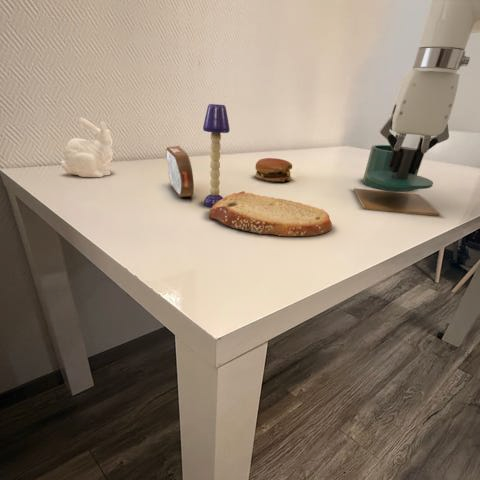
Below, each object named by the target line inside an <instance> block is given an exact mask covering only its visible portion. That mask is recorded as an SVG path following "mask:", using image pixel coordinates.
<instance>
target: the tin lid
mask: <svg viewBox="0 0 480 480" xmlns="http://www.w3.org/2000/svg"><path fill="white" fill-rule="evenodd" d="M406 147H407V146H401V152H402V154H401V157H400V160H399V163H398V167H397V170H396V172H391V171H371V172H368V173H367V178H368V179H370V180H372V181H374V182H376V183H378V184H381V185H384V186H388V187H392V188H398V189H408V190H409V191H413V190H414V191H415V190H425V189H430V188H432V187H433V186H434V182H433V181H432V180H431V179H429V178H427V177H424V176H422V175H418V174H417V175H413V174H409V173H410V170H411V167H412V164H413V161H414V158H415V155H416V152H417V148H413V147H408V148H406Z"/></svg>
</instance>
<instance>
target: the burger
mask: <svg viewBox="0 0 480 480" xmlns="http://www.w3.org/2000/svg"><path fill="white" fill-rule="evenodd" d="M292 169H293V164H292V162H290V161H288V160H285V159H282V158H275V157H274V158H272V157H267V158H261V159H259V160H257V162H256V163H255V170H256V173H255V177H256V179H258V180H262V181H266V182H283V183H284V182H285V181H287V182H290V181H291V180H292V178H291V170H292Z"/></svg>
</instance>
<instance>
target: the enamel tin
mask: <svg viewBox="0 0 480 480" xmlns="http://www.w3.org/2000/svg"><path fill="white" fill-rule="evenodd" d="M405 147H406V148H409V147H407V146H405ZM391 153H392V148H391V145H390V144H374V145H371V148H370V152H369V155H368V160H367V163H366V167H365V172H364V174H363V179H362V183H363V184H364V185H366V186H368V187H371V188H374V189H377V190H382V191H389V192H408V191H410V190H408V189H398V188H392V187H388V186H384V185H381V184H378V183H376V182H374V181H372V180H370V179H368V178H367V173H368V172H371V171H390V170H389V167H388V163H389V159H390V156H391ZM425 154H426V153H424V155H423V158H422V161H421V164H420V166H419V169H418V170H417V169H416V172H415V174H413V175H417V176H418V175H419V172H420V168H421V165H422V162H423V159H424V157H425ZM409 174H411V173H409Z"/></svg>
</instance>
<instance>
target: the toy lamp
mask: <svg viewBox="0 0 480 480" xmlns="http://www.w3.org/2000/svg"><path fill="white" fill-rule="evenodd" d="M230 129H231V128H230V123H229V118H228V112H227V107H226V105H225V104H216V103H209V104H208V105H207V109H206V112H205V117H204V121H203V126H202V130H203V131H204V132H207V133H210V140H211V142H210V150H211V152H210V166H209V167H210V171H209V172H210V175H209V176H210V182H209V183H210V189H209V191H210V194H208V195H207V196H205V198H204V199H203V205H204V206H205V207H207V208H212V206H213V205H214V204H215V203H216V202H218V201H219V200H221V199H223V198H224V197H223V196H222V195H220V184H221V183H220V176H221V173H220V168H221V162H220V158H221V152H220V151H221V139H222V135H221V134H229V133H230Z"/></svg>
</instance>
